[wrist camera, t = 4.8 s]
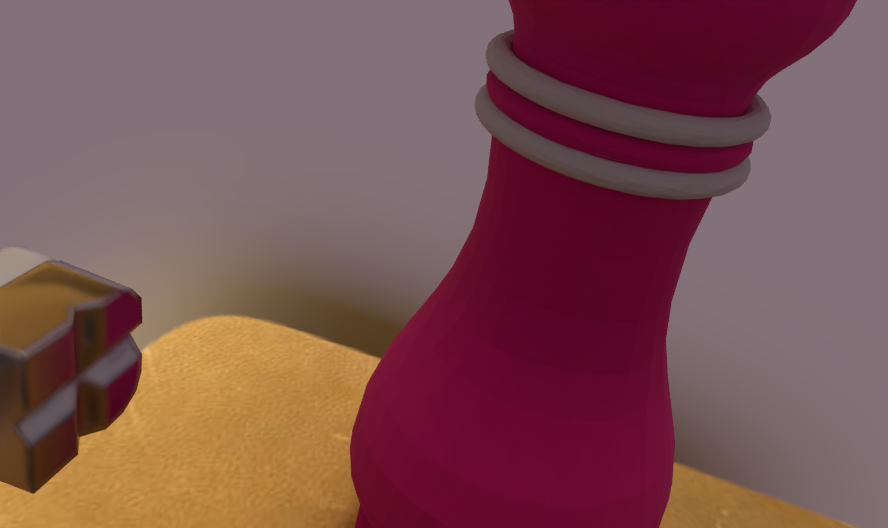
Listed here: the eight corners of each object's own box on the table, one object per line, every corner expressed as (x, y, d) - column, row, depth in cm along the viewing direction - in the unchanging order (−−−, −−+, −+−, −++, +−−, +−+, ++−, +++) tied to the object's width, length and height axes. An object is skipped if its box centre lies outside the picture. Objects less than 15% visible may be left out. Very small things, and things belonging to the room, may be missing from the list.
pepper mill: (578, 491, 24) (884, -306, 14) (637, 733, 18) (1250, -388, 8) (339, 462, 23) (492, -409, 13) (312, 707, 17) (563, -590, 7)
